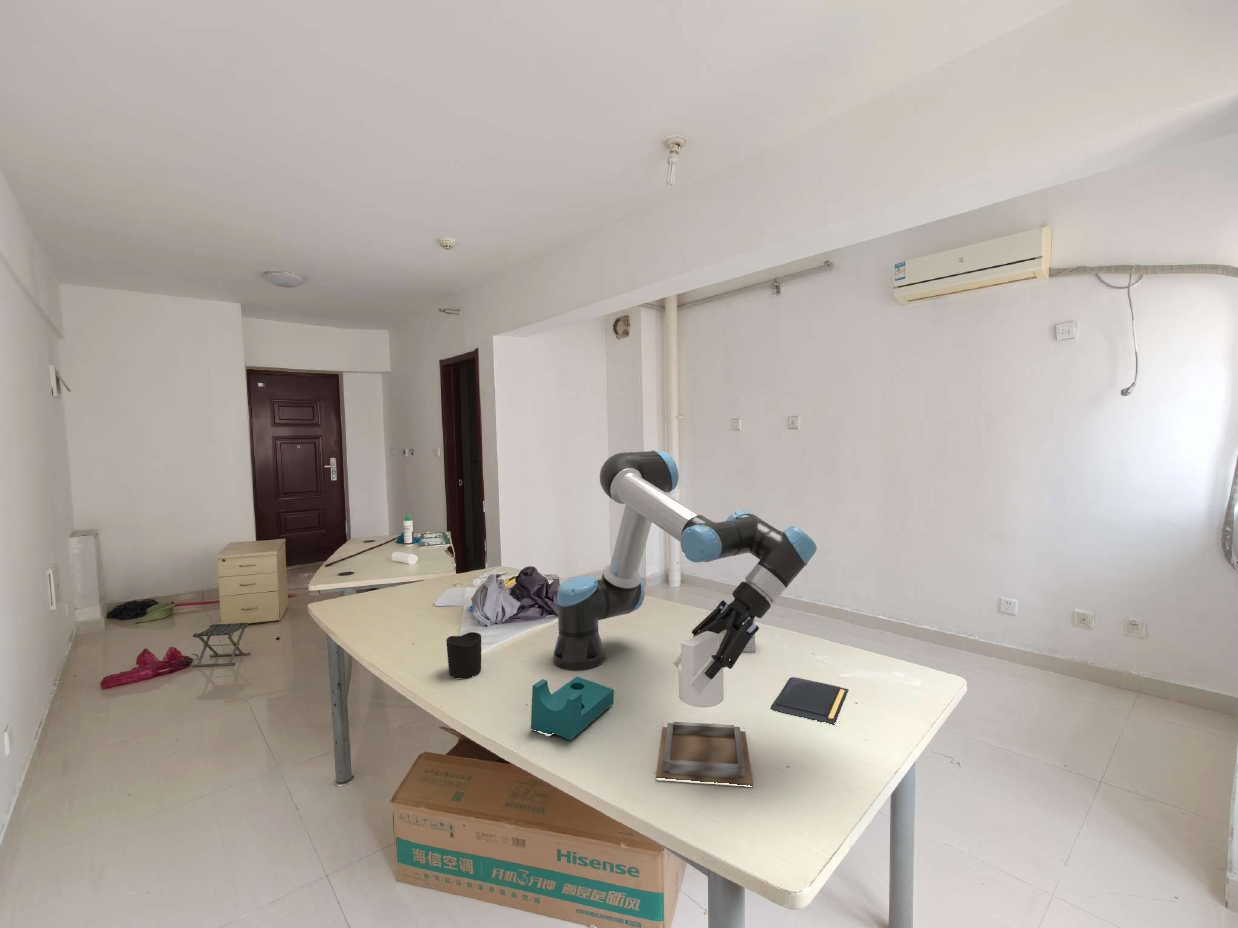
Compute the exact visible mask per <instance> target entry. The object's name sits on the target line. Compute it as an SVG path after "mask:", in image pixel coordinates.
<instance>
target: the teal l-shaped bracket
mask: <svg viewBox="0 0 1238 928" xmlns="http://www.w3.org/2000/svg"><path fill="white" fill-rule="evenodd" d="M548 682H549V681H548V680H546V679H544V678H541V679H540V680H538V681H537V682H535V683H534V684H533V685H532V690H531V691H532V692H531V711H530V712H531V714H530V730H531V729H533V730H536V731H541V732H543V733H547V734H552V733H555V734H554V735H558V736H560V737H563V738H564V739H567V740H570V741H572V740H573V739H574V738H575V737H576V736H577V735H579V733H581V732H582V731H583V730H585V728H586V727H588V726H589V725H591V723H592V722H593V721H595V720H596V719H597V718H599V717H600V716H601V715H602V714H603V713H604V712H606V711H607V710H608V709H609V708H610V707H611V706H612V705H613V704H614V697H615V696H614V695H615V689H614V688H611V687H608V686H605V685H603V684H600V683H596V682H593V681H591V680H588V679H585V678H583V677H579V676H575V677H574V678H573V679H572V680H570V681H568V682H567V683H566V684H564V685H563V686H561V687H560V688H558V689H557V690H556V691H554V692H553V693H551V691H550V688H549V685H548V684H549V683H548ZM533 730H532V731H533Z"/></svg>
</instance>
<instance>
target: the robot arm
mask: <svg viewBox="0 0 1238 928" xmlns="http://www.w3.org/2000/svg"><path fill="white" fill-rule="evenodd" d="M600 468H601V469H600V472H599V484H600V486H601V489H602V490H603V492H604V494H605V495H607V497H609V499H611V500H613V501H614V502H616V503H618V504H620V505H624V509H623V513H622V518H621V521H620V525H619V528H618V533H617V537H616V541H615V545H614V549H613V553H612V555H611V556H612V557H611V560H610V564H608V565H606V567H605V568H604V569H603V571H602V575H601V578H599V579H597V578H595V576H590V575H589V576H588V575H583V576H576V577H571V578H569V579H566V580H564V581H563V582H562V583H560V585H559V586H558V588H557V598H556V603H557V617H558V618H557V619H558V620H557V621H558V622H557V623H558V636H557V640H556V642H555V646H554V650H553V657H552V658H553V664H555V665H556V666H557V667H559V668H560V669H561V668H562V669H565V670H573V671H574V670H575V671H579V670H580V671H581V670H582V671H583V670H587V669H591V668H592V669H593V668H595V667H596V668H597V667H598V666H600V665H601V664H603V663H604V662H605V660H606V650H605V647H604V643H603V641H602V638H601V636H600V633H599V632H600V631H599V621H602V620H606V619H610V618H614V617H618V616H623V615H628V614H631V613H633V612H635V611H637V610H638V609H639V608H640V607H642V605H643V602H644V600H645V595H646V594H645V593H646V591H645V590H644V588H645V585H644V582H643V580H642V577H641V575H640V573H639V570H640V567H641V566H640V565H641V562H642V559H643V557H644V556H643V555H644V552H645V548H646V545H647V540H648V539H649V538H648V537H649V534H650V530H651V527H652V524H653V525H655V526H657V527H658V528H659V529H660V530H661V529H662V530H663V531H664V532H665V533H667V534H668V535H670V536H671V537H672V538H674V539H675V540H677V541H679V543H680V548H681V551H682V553H683V554H684V557H685V558H686V559H687V560H688V561H690V562H691V563H692V562H693V563H710V562H714V561H715V560H720V559H725V558H729V557H735V556H739V555H744V554H751V555H752V556H754V557H755V558H757V559H758V560H759V561H758V562H757V563H756V564H755V565H754V566H753V567H752V569H751V570H750V572H749V573H747V575H745V577H744V579H745V581H741V582H740V583H739V584H738V585H737V586H736V588H735V589H734V590H733V591H732V597H733V598H734V600H732V601H731V602H730V603H728V602H726V601H725V600H724V599H722V600H721V601H720V602H719V603H718V605H717V606H716V607H715V609H713V611H711V612H710V613H708V615H707V616H706V617H705V618H704V619H702V620H701V622H700V623H698V625H696V626H695V627H694V628H693V629H692V630H691V635H693V636H692V637H694V636H697V635H699V634H701V633H703V632H706V631H710V632H714V633H717V634H719V633H721V632H722V631H723V630H727V632H726V634H725V636H724V638H723V640H722V642H721V644H720V647H719V649H718V651H717V653H716V655H712V656H711V657H712V658H710V659H709V660H708V661H707V662H706V664H705V665H704V666H703V667H702V668H701V669H700V671H699V672H698V673H697V674H696V675H695V677H694V678H693V679H692V680H691V681H690V683H689V684H690V685H691V686H692V687H693V688H694V689H696V690H697V691H698V692H699V693H701V691H702V690H703V689H704V688H705V687H706V685H707V684H708V683H709V682H710V681H711V679H713V678H714V677H715V675H716V674H717V673H718V672H719V671H720V669H721V668H722V667H723V669H725V668H728V670H731V669H732V668H733V667H734V665H735V664H736V663H737V661H738V659H739V658H740V656H741V654H742V653H743V652H742V651H743V650H744V648H745V647H746V645H747V644H748V642H749V640H750V639H751V637H752V636H753V635H754V634H755V635H756V633H758V631H759V630H760V627H759V625H757V624H756V623H754V622H753V620H754V618H758V619H762V618H763V617H764V616H765V614H767V612H768V611H769V610H770V609H771V607H772V604H771V603H775V602H776V601H777V600H778V599H779V598H780V597H781V595H782V594H783V592H784V591H785V590H786V589H787V588H788V587H789V585H790V584H791V583H792V582H793V580H794V579H796V578H797V576H798V575H799V574H800V572H801V571H803V569H804V568H805V567H806V566H807V565H808V564H809V562H810V561H811V559H812V558H813V556H814V555H815V554H816V552H817V550H818V546H817V545H816V544H817V543H815V541H814V539H812V538H811V536H809V535H808V533H806V532H805V531H803V530H801V529H800V528H798V527H796V526H792V525H791V526H788V527H787V528H785V530H783V531H782V530H779V529H778V528H775V526H772V525H770V524H769V522H766V521H765V520H763V519H762V518H760V517H759V516H758V515H755V514H754V513H751V512H748V511H747V510H744V509H739V510H735V512H734V513H730V515H729V516H728V517H727V518H726V520H723V521H717V522H715V521H712V520H710V519H709V518H707V517H706V516H704V515H702V514H700V513H699V512H697V511H696V510H694V509H692V508H691V507H689V506H688V505H686V504H684V503H683V502H681V501H680V500H678V499H676V497H675V498H674V496H672V495H670V494H668V493H671V492H672V491H674V490H675V489H676V488H677V486H678V483H679V475H680V474H679V468H678V466H677V462H676V461H675V459H674V458H673V456H671V454H670V453H668V452H666V451H663V450H662V451H660V450H659V451H658V450H654V449H653V450H650V451H649V450H648V451H633V452H632V451H631V452H630V451H628V452H626V451H625V452H619V453H615V454H613V455H611V456H610V457H607V459H606V460H605V461H604V463H603V465H602V466H601V467H600ZM721 612H722V613H721ZM746 631H747V632H746ZM680 663H681V653H680V654H679V655H678V656H677V658H676V659H675V660H674V661H673V662H672V664H673V665H674V666H675V667H676V668H677V669H678V666H679V664H680Z"/></svg>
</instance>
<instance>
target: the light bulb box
mask: <svg viewBox="0 0 1238 928" xmlns="http://www.w3.org/2000/svg"><path fill="white" fill-rule="evenodd" d="M721 613H722V612H721ZM755 618H756V617H755ZM755 618H754V620H753V622H754V623H755V622H756V621H755V620H756V619H755ZM755 624H756V623H755ZM726 632H727V630H723V631H722V632H721V633H719V647H720V644H721V642H722V640H723V638H724V636H725V634H726ZM746 632H747V631H746ZM742 653H756V633H755V634H754V635H753V636H752V637H751V639H750V640H749V642H748V644H747V645H746V647H745V648H744V650H743V651H742Z"/></svg>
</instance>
